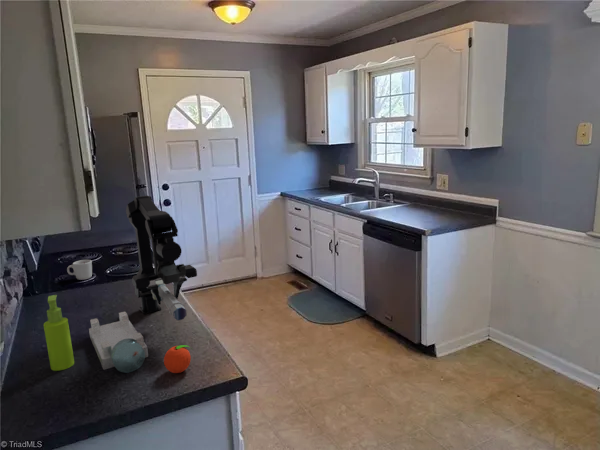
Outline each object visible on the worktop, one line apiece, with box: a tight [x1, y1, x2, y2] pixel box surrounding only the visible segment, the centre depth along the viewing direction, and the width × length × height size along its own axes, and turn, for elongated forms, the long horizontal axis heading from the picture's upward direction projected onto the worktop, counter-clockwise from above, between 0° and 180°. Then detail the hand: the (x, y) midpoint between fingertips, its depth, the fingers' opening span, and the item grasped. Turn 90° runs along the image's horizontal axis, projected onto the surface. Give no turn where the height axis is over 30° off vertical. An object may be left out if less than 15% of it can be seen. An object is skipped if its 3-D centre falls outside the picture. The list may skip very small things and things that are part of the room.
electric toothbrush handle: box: [151, 280, 188, 321], centre depth 136 cm, size 5×7×25 cm
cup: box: [66, 259, 93, 281], centre depth 200 cm, size 11×8×8 cm
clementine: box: [163, 344, 193, 374], centre depth 115 cm, size 8×7×7 cm
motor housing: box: [88, 311, 149, 374], centre depth 128 cm, size 31×12×8 cm, turn 33°
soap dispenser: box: [43, 294, 75, 372], centre depth 120 cm, size 6×7×20 cm
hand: (167, 302), depth 136 cm, fingers closed on electric toothbrush handle, 5 cm apart
